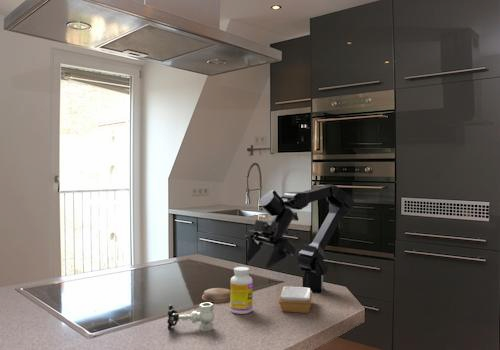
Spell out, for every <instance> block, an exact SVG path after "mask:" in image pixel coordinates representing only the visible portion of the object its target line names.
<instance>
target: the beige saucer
mask: <svg viewBox="0 0 500 350" xmlns="http://www.w3.org/2000/svg"><path fill="white" fill-rule="evenodd" d="M201 300H203V301H204V302H209V303H211V302H214V303H215V304H216V303H217V304H221V302H222V303H227V301H228V302H230V300H231V289H229V288H226V287H225V288H224V287H212V288H208V289H206V290H204V291H203V294H202V296H201Z"/></svg>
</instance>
